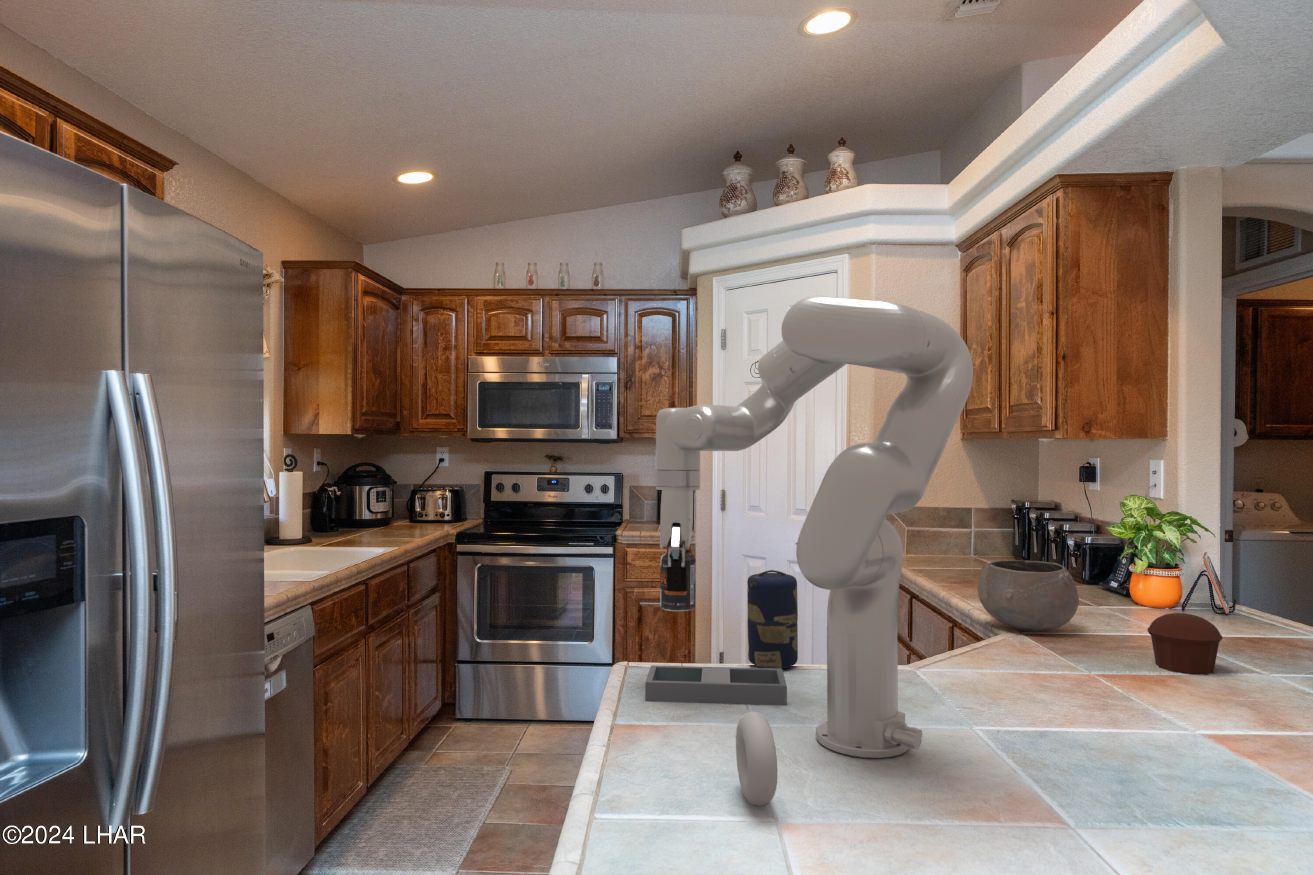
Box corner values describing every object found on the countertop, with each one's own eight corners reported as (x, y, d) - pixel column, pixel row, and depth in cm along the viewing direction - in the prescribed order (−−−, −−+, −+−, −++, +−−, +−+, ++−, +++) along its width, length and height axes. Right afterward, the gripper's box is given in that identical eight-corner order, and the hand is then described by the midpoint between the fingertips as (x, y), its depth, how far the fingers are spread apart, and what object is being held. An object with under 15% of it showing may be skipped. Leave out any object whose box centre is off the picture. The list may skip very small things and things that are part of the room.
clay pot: (1098, 639, 165) (1097, 570, 165) (1001, 639, 165) (1001, 569, 166) (1049, 618, 186) (1048, 557, 186) (964, 618, 186) (963, 557, 187)
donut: (732, 783, 92) (732, 700, 92) (761, 782, 92) (760, 699, 92) (750, 823, 82) (749, 729, 82) (781, 821, 82) (781, 728, 82)
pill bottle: (654, 610, 126) (655, 542, 126) (667, 603, 132) (667, 538, 132) (688, 613, 124) (688, 543, 124) (700, 606, 129) (700, 539, 130)
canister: (797, 673, 139) (797, 574, 139) (745, 670, 140) (745, 573, 141) (798, 659, 148) (798, 567, 148) (749, 657, 150) (749, 565, 150)
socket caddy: (782, 686, 131) (781, 668, 131) (786, 704, 121) (786, 685, 121) (651, 682, 133) (651, 665, 133) (645, 700, 123) (645, 682, 123)
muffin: (1154, 672, 140) (1153, 618, 140) (1141, 657, 150) (1140, 606, 150) (1232, 679, 135) (1231, 623, 135) (1213, 664, 145) (1212, 611, 146)
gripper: (660, 479, 137) (659, 579, 137) (651, 482, 120) (650, 596, 120) (701, 479, 137) (701, 579, 136) (698, 482, 119) (698, 597, 119)
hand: (677, 586), depth 128 cm, fingers closed on pill bottle, 6 cm apart
